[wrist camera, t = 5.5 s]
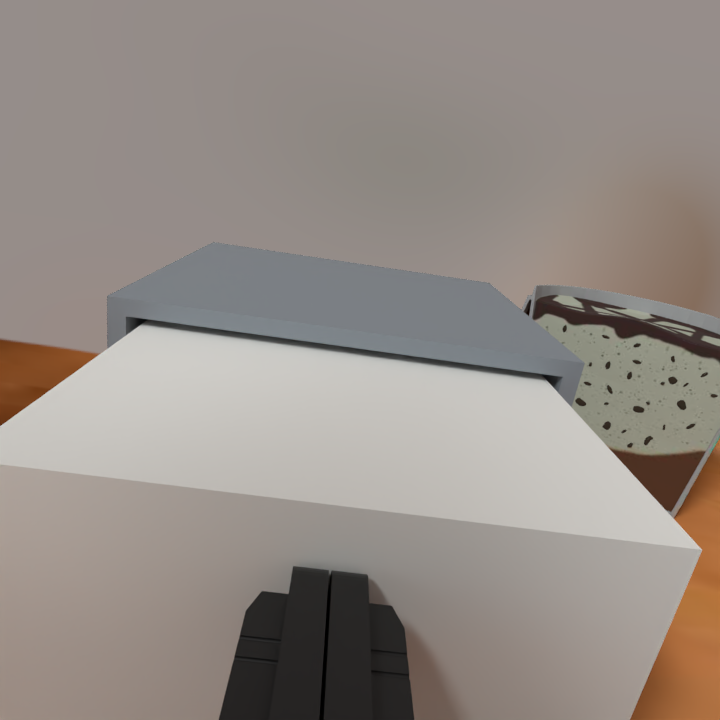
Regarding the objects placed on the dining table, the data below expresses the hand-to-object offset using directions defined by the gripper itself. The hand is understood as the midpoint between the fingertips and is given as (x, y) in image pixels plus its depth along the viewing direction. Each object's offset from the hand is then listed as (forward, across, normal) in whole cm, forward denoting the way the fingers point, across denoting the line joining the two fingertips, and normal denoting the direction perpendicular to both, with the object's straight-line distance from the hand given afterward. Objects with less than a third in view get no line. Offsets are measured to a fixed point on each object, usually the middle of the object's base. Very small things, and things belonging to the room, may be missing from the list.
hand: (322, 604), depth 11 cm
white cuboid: (+12, 0, +5) cm, 14 cm away
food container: (+21, -17, +7) cm, 28 cm away
